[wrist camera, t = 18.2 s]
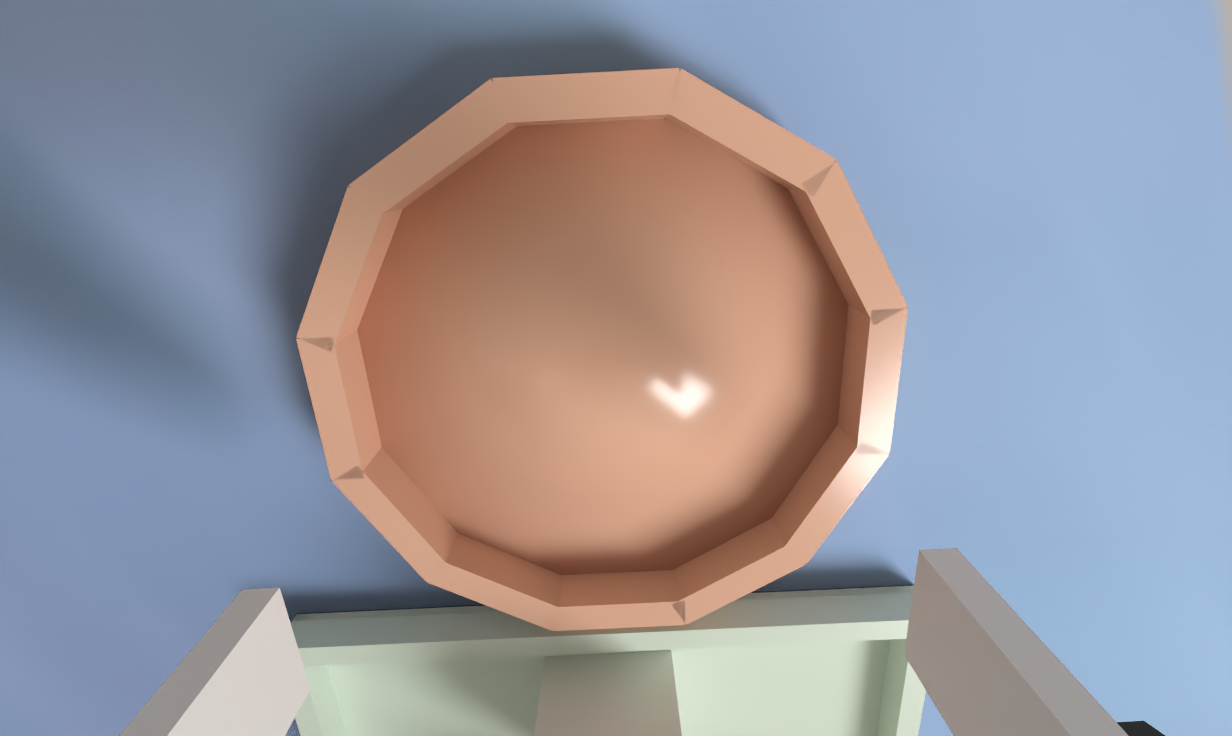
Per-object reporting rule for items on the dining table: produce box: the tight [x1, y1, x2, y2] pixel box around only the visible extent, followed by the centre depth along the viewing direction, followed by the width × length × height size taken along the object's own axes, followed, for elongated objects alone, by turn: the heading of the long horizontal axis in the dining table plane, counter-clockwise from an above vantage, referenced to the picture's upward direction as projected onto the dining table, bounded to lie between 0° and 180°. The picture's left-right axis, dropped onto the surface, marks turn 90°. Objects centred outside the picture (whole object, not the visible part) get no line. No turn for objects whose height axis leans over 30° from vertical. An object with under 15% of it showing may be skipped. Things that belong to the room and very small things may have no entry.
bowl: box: [296, 68, 908, 631], centre depth 16 cm, size 15×15×2 cm
